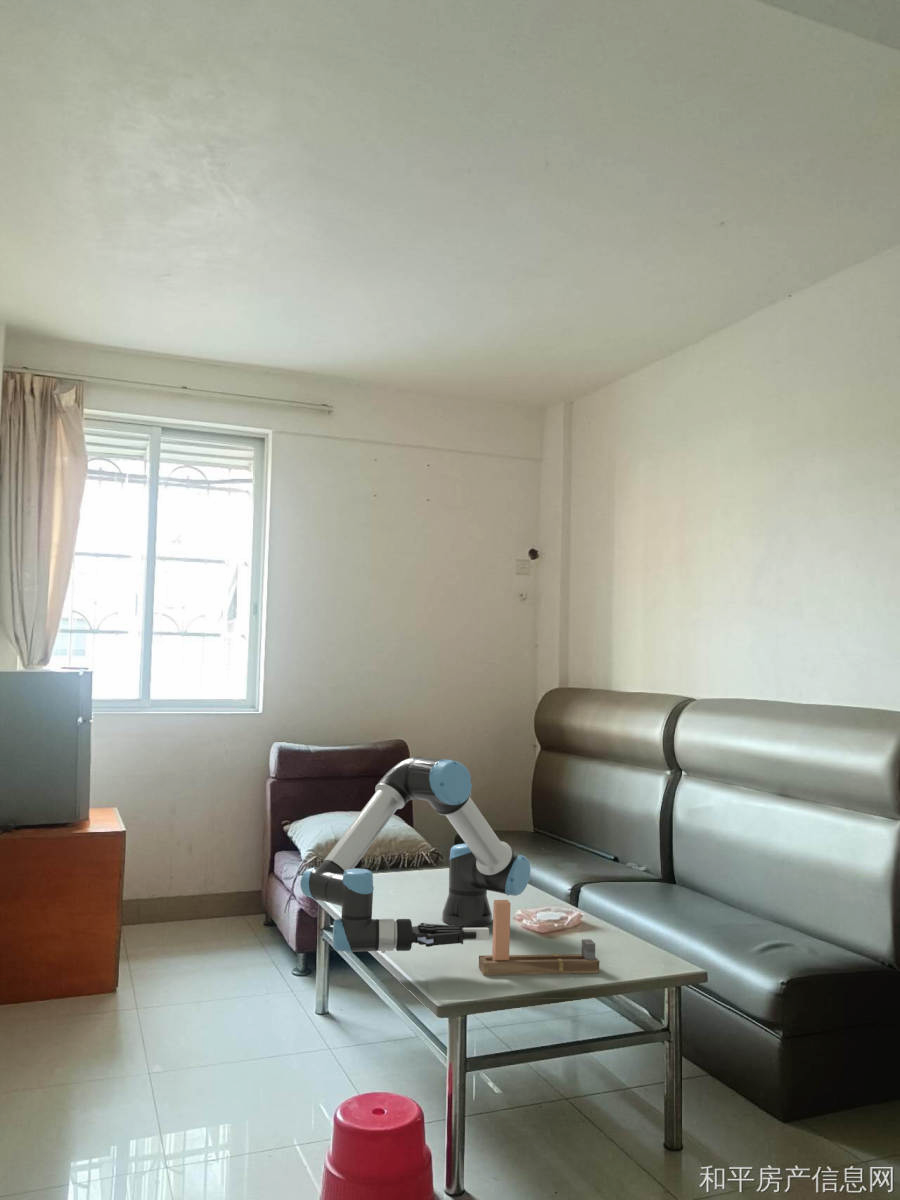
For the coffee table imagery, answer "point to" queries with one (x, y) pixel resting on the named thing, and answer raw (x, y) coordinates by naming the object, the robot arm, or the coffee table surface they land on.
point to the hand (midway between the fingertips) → (488, 933)
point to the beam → (543, 963)
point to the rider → (501, 930)
